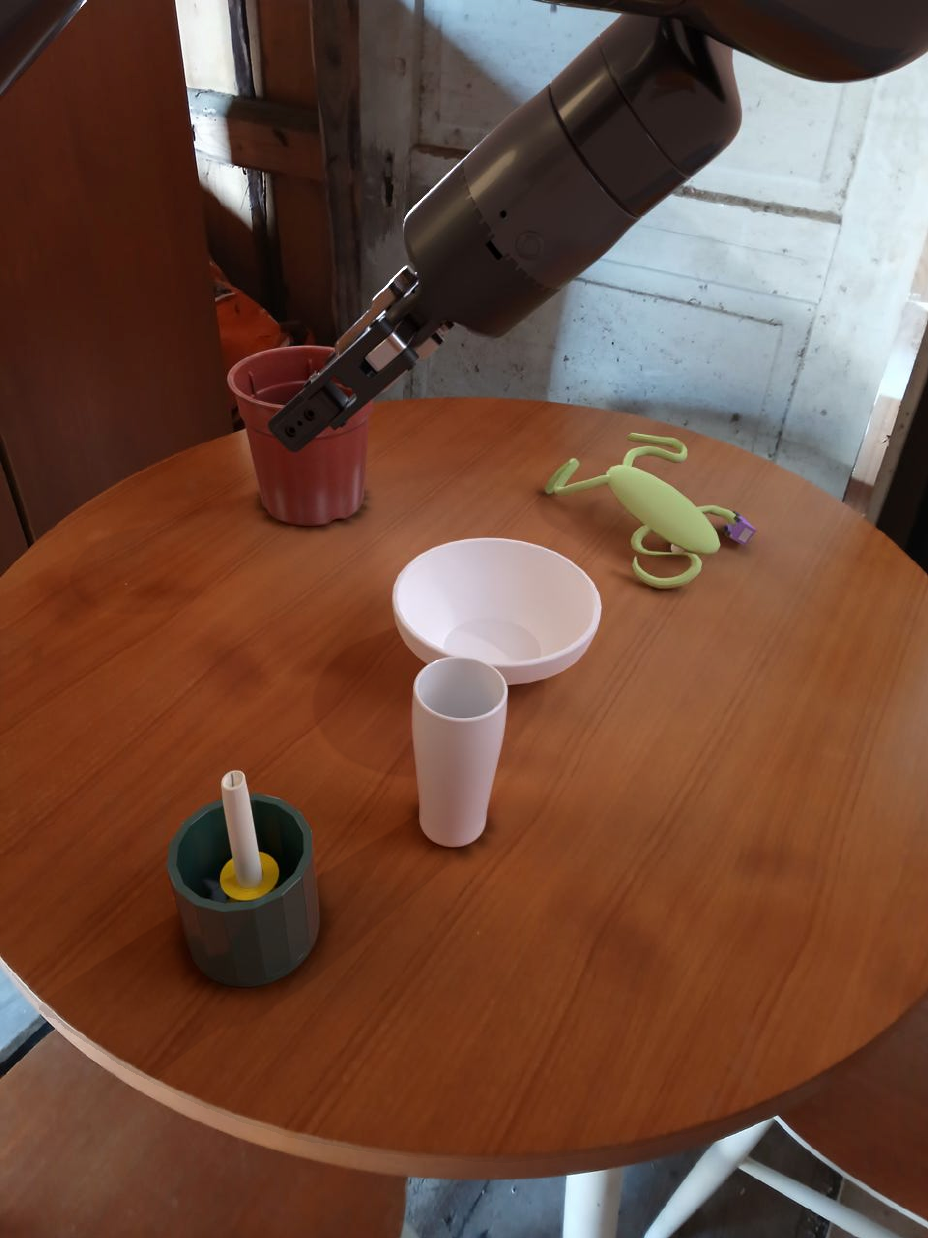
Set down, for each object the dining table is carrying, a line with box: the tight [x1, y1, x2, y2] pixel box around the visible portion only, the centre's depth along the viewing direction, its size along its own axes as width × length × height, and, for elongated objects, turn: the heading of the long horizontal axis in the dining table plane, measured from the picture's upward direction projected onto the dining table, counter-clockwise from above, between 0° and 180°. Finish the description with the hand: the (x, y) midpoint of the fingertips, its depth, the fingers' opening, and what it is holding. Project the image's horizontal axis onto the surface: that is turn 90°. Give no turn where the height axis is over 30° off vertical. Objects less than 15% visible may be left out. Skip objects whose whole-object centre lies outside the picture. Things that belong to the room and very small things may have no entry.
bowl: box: [391, 537, 602, 686], centre depth 86 cm, size 20×20×7 cm
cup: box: [165, 792, 321, 988], centre depth 62 cm, size 9×9×9 cm
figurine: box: [544, 432, 757, 590], centre depth 107 cm, size 18×27×6 cm
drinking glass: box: [411, 657, 509, 848], centre depth 68 cm, size 7×7×15 cm
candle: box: [220, 770, 279, 904], centre depth 59 cm, size 5×5×16 cm
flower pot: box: [226, 345, 374, 527], centre depth 104 cm, size 16×16×16 cm
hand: (310, 404), depth 52 cm, fingers open, 8 cm apart
